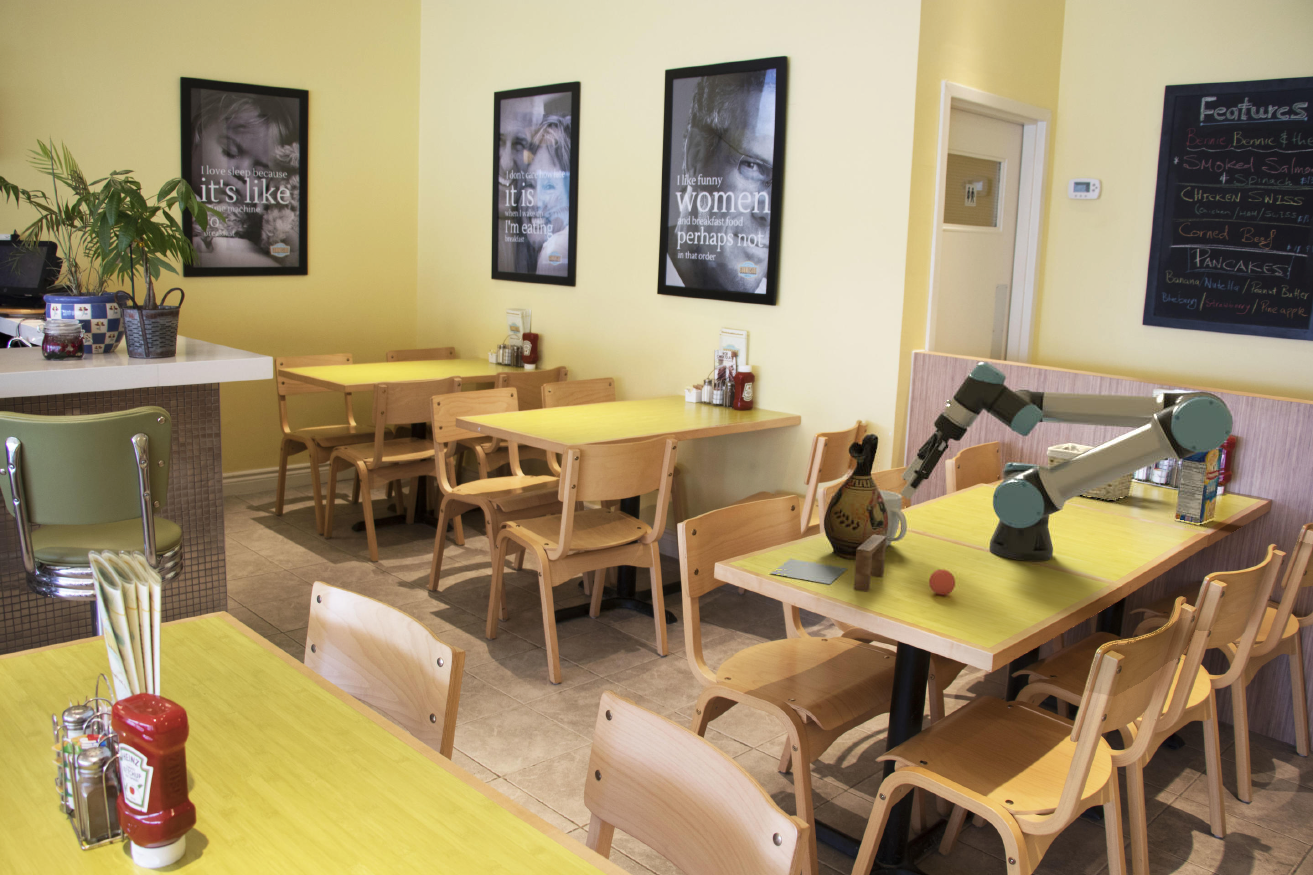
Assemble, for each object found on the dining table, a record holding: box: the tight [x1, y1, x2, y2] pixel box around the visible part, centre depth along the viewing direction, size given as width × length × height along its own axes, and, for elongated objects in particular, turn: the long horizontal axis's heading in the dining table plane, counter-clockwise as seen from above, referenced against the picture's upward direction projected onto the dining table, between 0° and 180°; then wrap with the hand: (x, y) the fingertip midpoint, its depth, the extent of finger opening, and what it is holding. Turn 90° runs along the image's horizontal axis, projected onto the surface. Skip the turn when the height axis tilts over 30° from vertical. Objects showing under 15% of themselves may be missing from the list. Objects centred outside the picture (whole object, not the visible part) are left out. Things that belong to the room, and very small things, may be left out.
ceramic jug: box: [823, 433, 888, 560], centre depth 251 cm, size 17×15×30 cm
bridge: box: [853, 534, 887, 592], centre depth 231 cm, size 3×14×9 cm, turn 154°
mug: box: [879, 489, 908, 547], centre depth 262 cm, size 15×11×13 cm
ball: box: [928, 569, 956, 596], centre depth 224 cm, size 6×6×6 cm
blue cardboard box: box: [1174, 446, 1224, 523], centre depth 302 cm, size 7×11×22 cm, turn 132°
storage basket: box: [1046, 442, 1134, 501], centre depth 336 cm, size 24×16×15 cm
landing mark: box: [769, 558, 848, 586], centre depth 237 cm, size 14×14×1 cm
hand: (905, 487), depth 258 cm, fingers open, 13 cm apart
